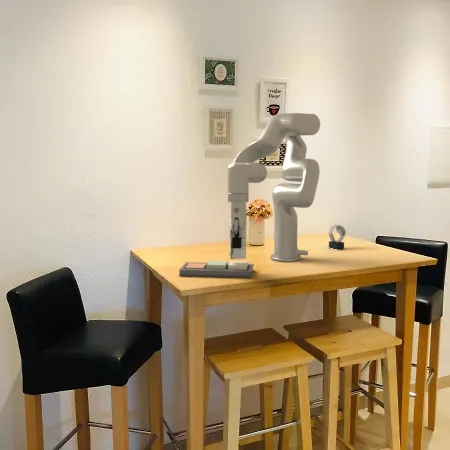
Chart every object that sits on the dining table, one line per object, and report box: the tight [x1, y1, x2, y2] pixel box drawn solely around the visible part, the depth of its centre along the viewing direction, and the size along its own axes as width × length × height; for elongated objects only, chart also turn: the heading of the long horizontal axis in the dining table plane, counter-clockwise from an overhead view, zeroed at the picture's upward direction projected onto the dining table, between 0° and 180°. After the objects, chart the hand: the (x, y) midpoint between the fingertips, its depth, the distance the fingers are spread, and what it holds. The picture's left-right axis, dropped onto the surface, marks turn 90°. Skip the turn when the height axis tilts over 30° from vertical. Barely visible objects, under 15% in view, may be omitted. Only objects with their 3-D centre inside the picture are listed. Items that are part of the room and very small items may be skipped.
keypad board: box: [178, 261, 254, 279], centre depth 185 cm, size 26×12×2 cm, turn 82°
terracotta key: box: [185, 262, 206, 269], centre depth 186 cm, size 7×7×2 cm
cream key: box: [228, 260, 249, 270], centre depth 184 cm, size 7×7×2 cm
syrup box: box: [229, 217, 247, 260], centre depth 182 cm, size 6×6×14 cm
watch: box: [328, 224, 347, 250], centre depth 228 cm, size 6×8×11 cm
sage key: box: [206, 260, 228, 269], centre depth 185 cm, size 7×7×2 cm
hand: (238, 245), depth 182 cm, fingers closed on syrup box, 6 cm apart
